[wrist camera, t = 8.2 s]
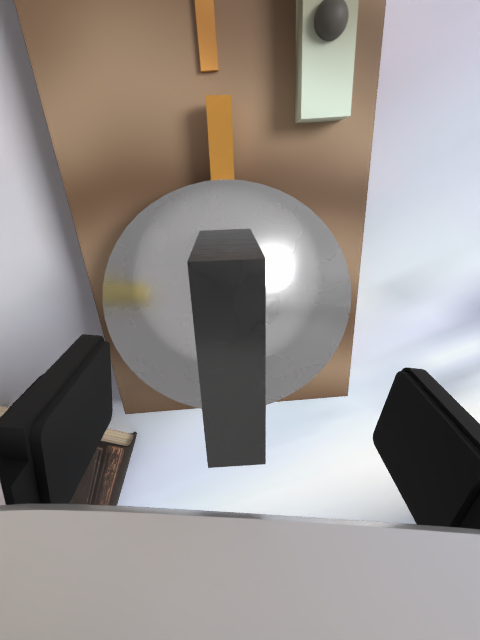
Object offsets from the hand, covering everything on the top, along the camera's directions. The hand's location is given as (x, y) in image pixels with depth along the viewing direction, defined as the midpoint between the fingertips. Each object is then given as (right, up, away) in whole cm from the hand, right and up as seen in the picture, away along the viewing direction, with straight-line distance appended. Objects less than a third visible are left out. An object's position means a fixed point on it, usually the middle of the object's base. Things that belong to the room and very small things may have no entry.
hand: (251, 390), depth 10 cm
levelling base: (-1, +9, +6) cm, 11 cm away
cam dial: (-1, +5, +6) cm, 8 cm away
